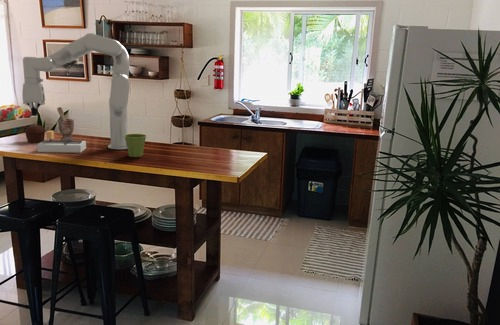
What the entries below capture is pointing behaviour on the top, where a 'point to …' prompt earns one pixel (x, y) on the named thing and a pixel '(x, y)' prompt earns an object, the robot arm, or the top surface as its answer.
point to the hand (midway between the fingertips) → (34, 115)
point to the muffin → (35, 133)
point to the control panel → (61, 146)
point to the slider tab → (50, 135)
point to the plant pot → (135, 144)
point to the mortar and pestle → (65, 126)
